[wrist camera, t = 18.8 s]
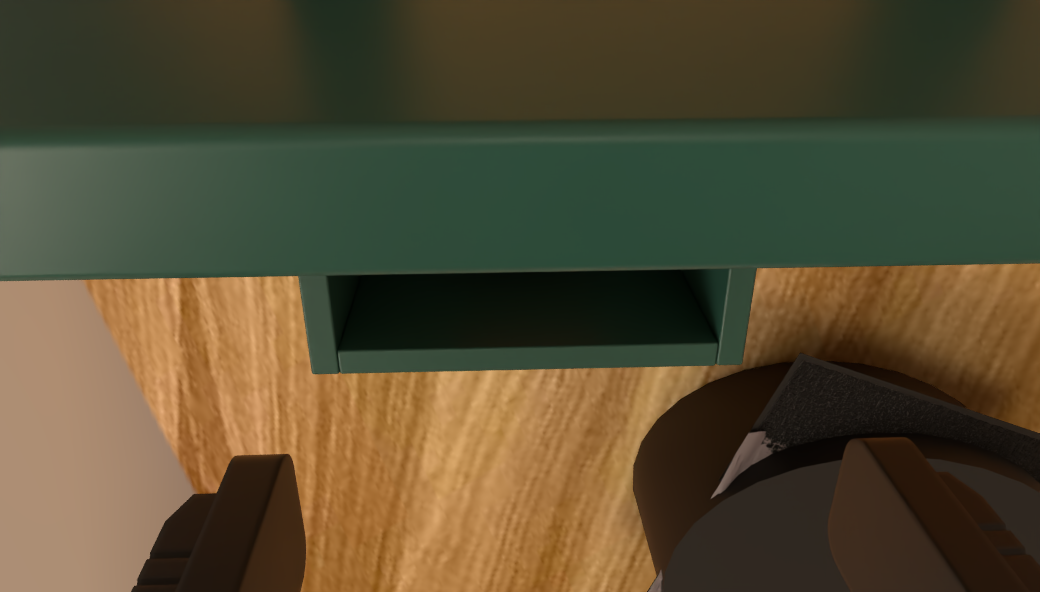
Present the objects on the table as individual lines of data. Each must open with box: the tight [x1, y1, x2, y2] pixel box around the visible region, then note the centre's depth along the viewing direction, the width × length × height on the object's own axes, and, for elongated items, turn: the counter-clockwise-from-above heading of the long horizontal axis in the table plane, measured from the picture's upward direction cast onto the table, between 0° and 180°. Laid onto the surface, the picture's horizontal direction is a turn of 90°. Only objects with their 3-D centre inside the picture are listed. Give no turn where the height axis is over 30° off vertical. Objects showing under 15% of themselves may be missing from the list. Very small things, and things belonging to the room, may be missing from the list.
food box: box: [298, 268, 757, 374], centre depth 23 cm, size 16×13×8 cm
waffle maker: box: [633, 353, 1040, 592], centre depth 33 cm, size 14×18×8 cm
